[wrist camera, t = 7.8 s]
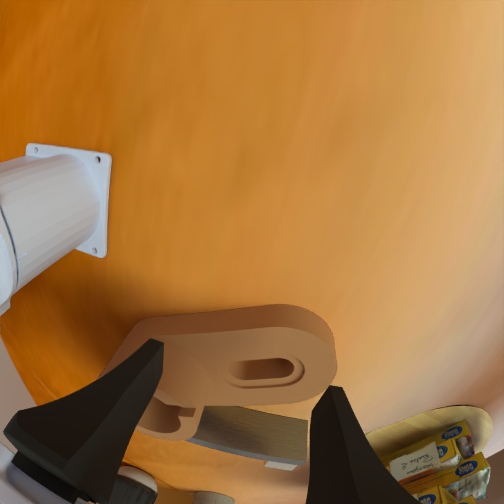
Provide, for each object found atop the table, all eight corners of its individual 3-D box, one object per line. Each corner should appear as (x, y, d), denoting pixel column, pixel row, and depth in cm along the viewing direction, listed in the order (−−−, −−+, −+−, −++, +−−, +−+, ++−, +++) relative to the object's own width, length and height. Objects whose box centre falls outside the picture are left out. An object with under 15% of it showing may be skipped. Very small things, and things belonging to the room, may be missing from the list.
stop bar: (147, 398, 28) (130, 432, 24) (146, 377, 26) (126, 413, 22) (294, 438, 28) (291, 475, 23) (307, 420, 26) (306, 461, 21)
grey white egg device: (121, 470, 45) (98, 521, 31) (111, 453, 40) (83, 512, 27) (164, 487, 44) (145, 541, 31) (161, 473, 40) (137, 537, 26)
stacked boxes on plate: (301, 444, 28) (289, 570, 13) (500, 373, 21) (547, 489, 6) (346, 494, 36) (344, 569, 21) (476, 451, 29) (493, 524, 14)
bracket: (154, 381, 27) (128, 433, 21) (117, 317, 24) (77, 369, 17) (337, 373, 23) (342, 440, 17) (329, 294, 20) (338, 366, 14)
